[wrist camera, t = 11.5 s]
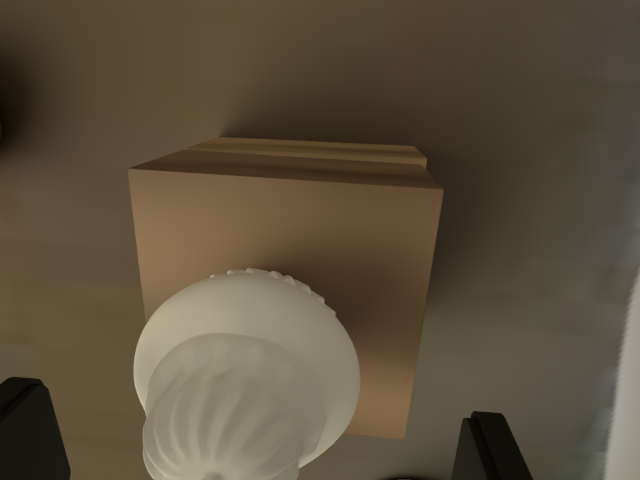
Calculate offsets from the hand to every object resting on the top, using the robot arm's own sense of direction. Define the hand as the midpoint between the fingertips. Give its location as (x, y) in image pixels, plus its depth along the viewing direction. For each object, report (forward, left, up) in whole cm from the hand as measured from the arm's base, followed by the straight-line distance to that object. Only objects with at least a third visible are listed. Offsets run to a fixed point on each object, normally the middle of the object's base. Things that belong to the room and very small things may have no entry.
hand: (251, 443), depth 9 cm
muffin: (0, -1, -6) cm, 6 cm away
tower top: (0, 0, -10) cm, 10 cm away
